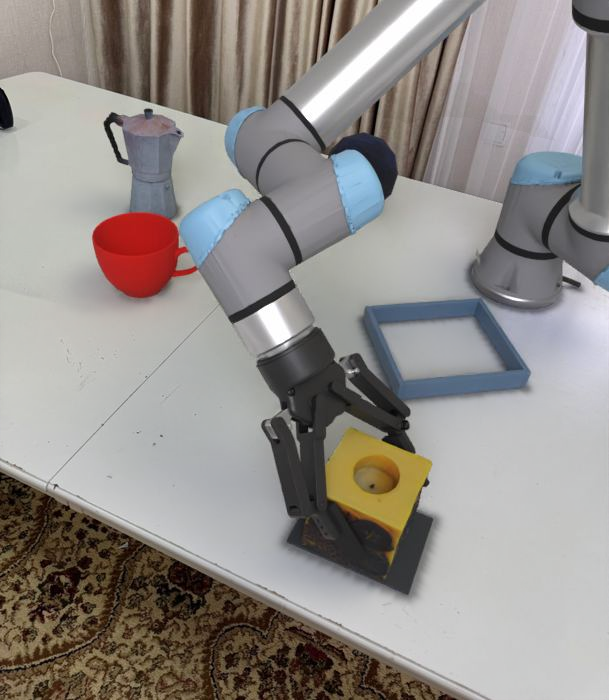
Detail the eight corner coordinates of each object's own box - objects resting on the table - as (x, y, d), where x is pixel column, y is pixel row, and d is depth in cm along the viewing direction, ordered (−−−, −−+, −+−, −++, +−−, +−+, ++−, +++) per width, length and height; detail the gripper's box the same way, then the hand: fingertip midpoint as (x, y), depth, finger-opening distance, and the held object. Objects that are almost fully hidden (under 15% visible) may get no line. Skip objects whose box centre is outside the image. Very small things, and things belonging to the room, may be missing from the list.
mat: (286, 542, 68) (287, 540, 68) (321, 476, 75) (321, 474, 75) (408, 595, 65) (408, 593, 65) (432, 520, 72) (433, 518, 72)
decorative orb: (319, 156, 131) (327, 116, 116) (389, 159, 132) (406, 120, 117) (319, 219, 128) (326, 187, 114) (390, 222, 129) (407, 190, 115)
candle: (298, 544, 68) (305, 489, 61) (336, 478, 75) (346, 423, 68) (385, 586, 65) (402, 534, 58) (416, 514, 72) (434, 460, 65)
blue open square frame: (476, 312, 102) (481, 297, 100) (525, 387, 90) (531, 372, 88) (362, 320, 99) (365, 305, 97) (396, 400, 86) (399, 385, 84)
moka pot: (181, 230, 115) (173, 124, 102) (103, 217, 117) (85, 111, 104) (198, 206, 122) (192, 104, 109) (124, 194, 124) (109, 92, 111)
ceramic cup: (191, 320, 96) (188, 266, 89) (87, 303, 97) (76, 248, 91) (215, 274, 106) (213, 222, 99) (120, 258, 107) (112, 206, 100)
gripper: (334, 301, 72) (422, 456, 76) (179, 410, 58) (296, 595, 61) (378, 282, 66) (471, 452, 70) (218, 398, 52) (345, 605, 55)
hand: (389, 519), depth 65 cm, fingers closed on candle, 11 cm apart
